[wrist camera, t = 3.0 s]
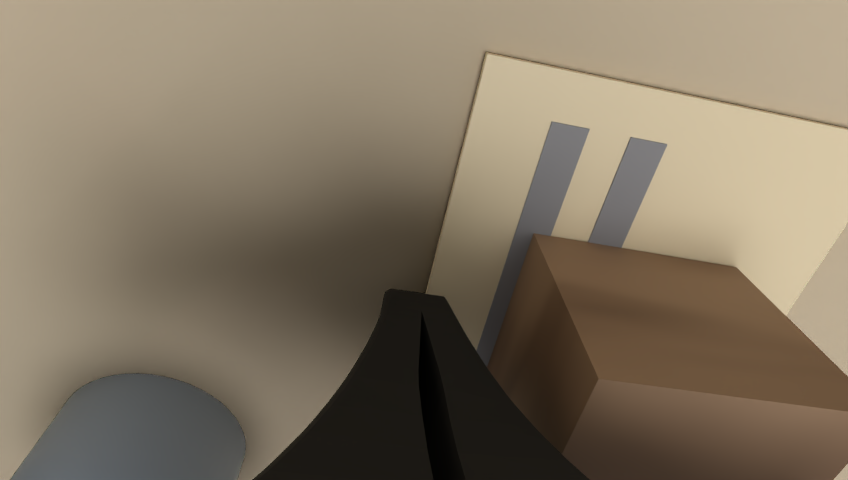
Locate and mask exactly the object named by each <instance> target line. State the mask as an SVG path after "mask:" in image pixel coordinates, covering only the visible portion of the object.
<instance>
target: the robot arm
mask: <svg viewBox="0 0 848 480" xmlns="http://www.w3.org/2000/svg"><path fill="white" fill-rule="evenodd" d="M253 480H590V479H589V478H587V477H586V476H585V475H584V474H583V473H582V472H581V471H580V470H578V469H577V468H576V467H575V466H574V465H573V464H572V463H571V462H570V461H568V460H567V459H566V458H565V457H564V456H563V455H562V454H561V453H560V452H559V451H558V450H557V449H556V448H555V447H554V446H553V445H552V444H551V443H550V442H549V441H548V440H547V439H546V438H545V437H544V436H543V435H542V434H541V433H540V432H539V431H538V430H537V429H536V428H535V427H534V426H533V425H532V423H531V422H530V421H529V420H528V419H527V418H526V417H525V415H524V414H523V413H522V412H521V411H520V410H519V409H518V408H517V406H516V405H515V404H514V403H513V402H512V400H511V399H510V398H509V397H508V395H507V394H506V393H505V392H504V390H503V389H502V387H501V386H500V385H499V383H498V382H497V381H496V379H495V378H494V377H493V375H492V374H491V372H490V371H489V369H488V368H487V366H486V365H485V363H484V362H483V360H482V359H481V357H480V356H479V354H478V353H477V351H476V350H475V348H474V346H473V345H472V343H471V342H470V340H469V338H468V337H467V335H466V333H465V332H464V330H463V328H462V326H461V325H460V323H459V321H458V319H457V318H456V316H455V314H454V312H453V310H452V308H451V307H450V305H449V303H448V301H447V300H446V298H445V297H444V296H438V295H431V294H424V293H417V292H410V291H403V290H396V289H390V290H388V291H386V292H385V294H384V299H383V304H382V309H381V314H380V317H379V319H378V322H377V324H376V327H375V329H374V331H373V333H372V335H371V337H370V339H369V341H368V343H367V345H366V347H365V348H364V350H363V352H362V353H361V355H360V357H359V358H358V360H357V362H356V363H355V365H354V367H353V368H352V370H351V371H350V373H349V374H348V376H347V377H346V379H345V380H344V382H343V383H342V385H341V386H340V387H339V389H338V390H337V391H336V393H335V394H334V395H333V397H332V398H331V399H330V401H329V402H328V403H327V404H326V405H325V407H324V408H323V409H322V410H321V411H320V413H319V414H318V415H317V416H316V417H315V419H314V420H313V421H312V422H311V423H310V424H309V425H308V427H307V428H306V429H305V430H304V431H303V432H302V433H301V434H300V435H299V436H298V437H297V438H296V439H295V440H294V441H293V442H292V443H291V444H290V445H289V446H288V447H287V448H286V449H285V450H284V451H283V452H282V453H281V454H280V455H279V456H278V457H277V458H276V459H275V460H274V461H273V462H272V463H271V464H270V465H269V466H268V467H267V468H265V469H264V470H263V471H262V472H261V473H260V474H258V475H257V476H256V477H255V478H254V479H253Z"/></svg>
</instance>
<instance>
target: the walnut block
mask: <svg viewBox="0 0 848 480" xmlns="http://www.w3.org/2000/svg"><path fill="white" fill-rule="evenodd" d="M487 368H488V369H489V371H490V372H491V374H492V375H493V377H494V378H495V379H496V381H497V382H498V383H499V385H500V386H501V387H502V389H503V390H504V392H505V393H506V394H507V395H508V397H509V398H510V399H511V400H512V402H513V403H514V404H515V405H516V406H517V408H518V409H519V410H520V411H521V412H522V413H523V414H524V415H525V417H526V418H527V419H528V420H529V421H530V422H531V423H532V425H533V426H534V427H535V428H536V429H537V430H538V431H539V432H540V433H541V434H542V435H543V436H544V437H545V438H546V439H547V440H548V441H549V442H550V443H551V444H552V445H553V446H554V447H555V448H556V449H557V450H558V451H559V452H560V453H561V454H562V455H563V456H564V457H565V458H566V459H567V460H568V461H570V462H571V463H572V464H573V465H574V466H575V467H576V468H577V469H578V470H580V471H581V472H582V473H583V474H584V475H585V476H586V477H587V478H589V479H590V480H833V479H834V478H835V477H836V476H837V475H838V474H839V473H840V471H841V470H842V469H843V468H844V467H845V466H846V465H847V464H848V376H847V375H845V374H844V373H843V372H842V371H841V370H840V369H839V368H838V367H837V366H836V365H835V364H834V363H833V362H832V361H831V360H830V359H829V358H828V357H827V356H826V355H825V354H824V353H823V352H822V351H821V350H820V349H819V348H818V347H817V346H816V345H815V344H814V343H813V342H812V341H811V340H810V339H809V338H808V337H807V336H806V335H805V334H804V333H803V332H802V331H801V330H800V329H799V328H798V327H797V326H796V325H795V324H794V323H793V322H792V321H791V320H790V319H789V318H788V317H787V316H785V315H784V314H783V313H782V312H781V311H780V310H779V309H778V308H777V307H776V306H775V305H774V304H773V303H772V302H771V301H770V300H769V299H768V298H767V297H766V296H765V295H764V294H763V293H762V292H761V291H760V290H759V289H758V288H757V287H756V286H755V285H754V284H753V283H752V282H751V281H750V280H749V279H748V278H747V277H746V276H745V275H744V274H743V273H742V272H741V271H740V270H739V269H738V268H737V267H733V266H727V265H721V264H715V263H709V262H703V261H697V260H691V259H685V258H679V257H673V256H667V255H661V254H655V253H649V252H643V251H637V250H631V249H625V248H619V247H613V246H607V245H601V244H595V243H589V242H583V241H577V240H571V239H565V238H559V237H553V236H547V235H541V234H535V233H534V234H533V237H532V239H531V242H530V245H529V248H528V251H527V254H526V257H525V260H524V262H523V265H522V268H521V271H520V274H519V277H518V280H517V283H516V285H515V288H514V291H513V294H512V297H511V300H510V303H509V306H508V308H507V311H506V314H505V317H504V320H503V323H502V326H501V329H500V331H499V334H498V337H497V340H496V343H495V346H494V349H493V352H492V354H491V357H490V360H489V363H488V366H487Z"/></svg>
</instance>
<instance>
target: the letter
mask: <svg viewBox="0 0 848 480" xmlns="http://www.w3.org/2000/svg"><path fill="white" fill-rule="evenodd" d="M847 223H848V128H844V127H839V126H834V125H829V124H825V123H820V122H815V121H811V120H806V119H801V118H796V117H792V116H787V115H782V114H777V113H773V112H768V111H763V110H758V109H754V108H749V107H744V106H740V105H735V104H730V103H725V102H721V101H716V100H711V99H706V98H702V97H697V96H692V95H687V94H683V93H678V92H673V91H669V90H664V89H659V88H654V87H650V86H645V85H640V84H635V83H631V82H626V81H621V80H616V79H612V78H607V77H602V76H598V75H593V74H588V73H583V72H579V71H574V70H569V69H564V68H560V67H555V66H550V65H545V64H541V63H536V62H531V61H527V60H522V59H517V58H512V57H508V56H503V55H498V54H493V53H489V52H486V54H485V58H484V62H483V66H482V70H481V74H480V78H479V82H478V86H477V90H476V94H475V98H474V102H473V106H472V110H471V114H470V118H469V122H468V126H467V130H466V134H465V137H464V141H463V145H462V149H461V153H460V157H459V161H458V165H457V169H456V173H455V177H454V181H453V185H452V189H451V193H450V197H449V201H448V205H447V209H446V213H445V217H444V221H443V225H442V229H441V233H440V237H439V241H438V245H437V249H436V253H435V257H434V261H433V265H432V269H431V273H430V277H429V281H428V285H427V289H426V293H425V294H431V295H438V296H444V297H445V298H446V300H447V301H448V303H449V305H450V307H451V308H452V310H453V312H454V314H455V316H456V318H457V319H458V321H459V323H460V325H461V326H462V328H463V330H464V332H465V333H466V335H467V337H468V338H469V340H470V342H471V343H472V345H473V346H474V348H475V350H476V351H477V353H478V354H479V356H480V357H481V359H482V360H483V362H484V363H485V365H486V366H488V363H489V360H490V357H491V354H492V352H493V349H494V346H495V343H496V340H497V337H498V334H499V331H500V329H501V326H502V323H503V320H504V317H505V314H506V311H507V308H508V306H509V303H510V300H511V297H512V294H513V291H514V288H515V285H516V283H517V280H518V277H519V274H520V271H521V268H522V265H523V262H524V260H525V257H526V254H527V251H528V248H529V245H530V242H531V239H532V237H533V234H534V233H535V234H541V235H547V236H553V237H559V238H565V239H571V240H577V241H583V242H589V243H595V244H601V245H607V246H613V247H619V248H625V249H631V250H637V251H643V252H649V253H655V254H661V255H667V256H673V257H679V258H685V259H691V260H697V261H703V262H709V263H715V264H721V265H727V266H733V267H737V268H738V269H739V270H740V271H741V272H742V273H743V274H744V275H745V276H746V277H747V278H748V279H749V280H750V281H751V282H752V283H753V284H754V285H755V286H756V287H757V288H758V289H759V290H760V291H761V292H762V293H763V294H764V295H765V296H766V297H767V298H768V299H769V300H770V301H771V302H772V303H773V304H774V305H775V306H776V307H777V308H778V309H779V310H780V311H781V312H782V313H783V314H784V315H785V316H786V315H787V313H788V312H789V310H790V309H791V307H792V306H793V304H794V303H795V301H796V300H797V298H798V297H799V295H800V294H801V292H802V291H803V289H804V288H805V286H806V285H807V283H808V282H809V280H810V279H811V277H812V276H813V274H814V273H815V271H816V270H817V268H818V267H819V265H820V264H821V262H822V261H823V259H824V258H825V256H826V255H827V253H828V252H829V250H830V249H831V247H832V246H833V244H834V243H835V241H836V240H837V238H838V237H839V235H840V234H841V232H842V231H843V229H844V228H845V226H846V225H847Z"/></svg>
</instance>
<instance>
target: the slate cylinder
mask: <svg viewBox="0 0 848 480" xmlns="http://www.w3.org/2000/svg"><path fill="white" fill-rule="evenodd" d="M245 450H246V444H245V437H244V433H243V431H242V428H241V426H240V424H239V423H238V421H237V419H236V418H235V417H234V415H233V414H232V413H231V412H230V411H229V409H227V408H226V407H225V406H224V405H223V404H222V403H221V402H220V401H218V400H217V399H215V398H214V397H213V396H211V395H210V394H208V393H206V392H204V391H203V390H201V389H199V388H197V387H195V386H192V385H190V384H188V383H185V382H182V381H179V380H176V379H172V378H168V377H164V376H158V375H152V374H139V373H136V374H119V375H112V376H108V377H103V378H100V379H97V380H95V381H92V382H90V383H88V384H86V385H84V386H82V387H81V388H80V389H78V390H77V391H76V392H74V393H73V395H72V396H71V397H70V398H69V399H68V400H67V402H66V403H65V404H64V406H63V407H62V408H61V410H60V411H59V413H58V414H57V415H56V417H55V418H54V419H53V421H52V422H51V424H50V425H49V426H48V428H47V429H46V431H45V432H44V433H43V435H42V436H41V437H40V439H39V440H38V442H37V443H36V444H35V446H34V447H33V449H32V450H31V451H30V453H29V454H28V455H27V457H26V458H25V460H24V461H23V462H22V464H21V465H20V466H19V468H18V469H17V471H16V472H15V473H14V475H13V476H12V478H11V479H10V480H237V479H238V476H239V473H240V469H241V466H242V463H243V459H244V456H245Z"/></svg>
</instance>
